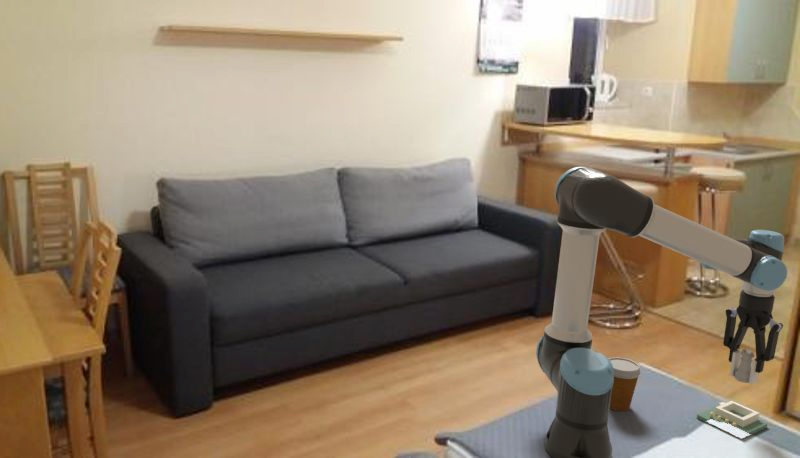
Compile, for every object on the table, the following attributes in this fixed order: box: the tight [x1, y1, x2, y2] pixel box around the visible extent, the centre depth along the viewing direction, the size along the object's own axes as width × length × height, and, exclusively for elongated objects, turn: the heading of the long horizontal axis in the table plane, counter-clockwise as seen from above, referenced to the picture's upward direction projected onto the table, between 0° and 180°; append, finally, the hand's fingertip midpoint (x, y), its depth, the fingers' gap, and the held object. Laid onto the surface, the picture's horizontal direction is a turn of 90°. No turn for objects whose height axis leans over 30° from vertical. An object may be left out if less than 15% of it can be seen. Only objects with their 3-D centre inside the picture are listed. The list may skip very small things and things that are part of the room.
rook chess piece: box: [733, 348, 756, 384], centre depth 165 cm, size 4×4×8 cm
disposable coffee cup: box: [608, 356, 642, 412], centre depth 173 cm, size 10×10×12 cm
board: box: [696, 400, 768, 435], centre depth 167 cm, size 12×12×3 cm
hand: (743, 378), depth 166 cm, fingers closed on rook chess piece, 4 cm apart
